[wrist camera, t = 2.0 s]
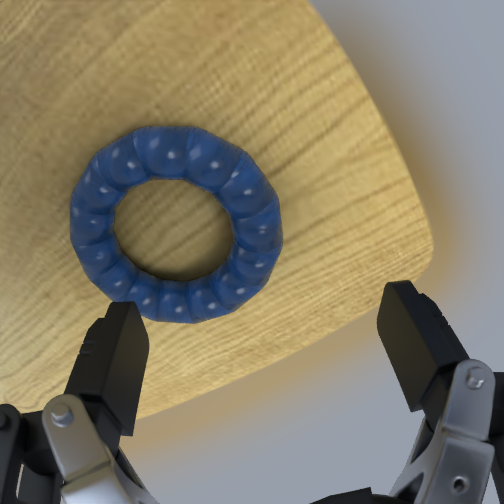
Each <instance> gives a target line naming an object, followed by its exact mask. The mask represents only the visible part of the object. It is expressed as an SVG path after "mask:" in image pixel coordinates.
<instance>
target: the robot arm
mask: <svg viewBox="0 0 504 504" xmlns="http://www.w3.org/2000/svg"><path fill="white" fill-rule="evenodd" d="M377 330H378V333H379V336H380V338H381V341H382V343H383V345H384V347H385V350H386V352H387V354H388V357H389V359H390V362H391V364H392V366H393V368H394V371H395V373H396V376H397V378H398V381H399V383H400V386H401V388H402V391H403V393H404V396H405V398H406V401H407V403H408V406H409V409H410V411H411V412H415V411H418V410H422V409H423V411H424V413H425V417H424V418H423V420H422V423H421V426H420V429H419V432H418V435H417V437H416V440H415V443H414V445H413V448H412V451H411V453H410V456H409V458H408V461H407V463H406V465H405V467H404V469H403V471H402V473H401V474H400V476H399V477H398V479H397V480H396V482H395V484H394V486H393V487H392V490H391V491H390V493H389V496H387V495H379V494H372V492H371V487H368V488H364V489H360V490H355V491H351V492H346V493H341V494H336V495H330V496H328V497H326V498H323V499H321V500H318V501H316V502H313V503H310V504H482V501H483V497H484V494H485V490H486V487H487V483H488V479H489V475H490V471H491V473H492V476H493V480H494V483H495V487H496V490H497V494H498V498H499V501H500V504H504V372H492V370H491V369H490V368H489V367H488V366H487V365H486V364H485V363H483V362H481V361H479V360H475V359H470V358H469V356H468V354H467V353H466V351H465V349H464V348H463V346H462V344H461V343H460V341H459V339H458V338H457V336H456V335H455V333H454V331H453V330H452V328H451V326H450V325H448V322H447V320H446V319H445V317H444V316H442V312H441V311H440V310H439V308H438V306H437V305H436V303H435V302H434V301H432V300H431V299H430V298H429V297H427V296H426V295H425V294H423V293H422V294H419V293H418V292H417V290H416V288H415V287H414V286H413V284H412V283H411V281H409V280H403V281H394V282H388V283H386V285H385V288H384V292H383V296H382V300H381V304H380V308H379V312H378V316H377ZM83 342H84V344H82V346H81V349H80V351H79V353H80V354H78V356H77V359H76V361H75V364H74V367H73V369H72V372H71V375H70V377H69V380H68V383H67V386H66V389H65V391H64V394H61V395H58V396H56V397H54V398H52V399H51V400H50V401H49V402H48V403H47V404H46V406H45V407H44V409H43V410H42V411H36V412H30V413H23V414H21V413H20V412H19V411H18V410H17V409H16V408H15V407H14V406H13V405H11V404H1V405H0V504H60V501H61V496H62V498H63V500H64V502H65V504H159V503H158V502H157V501H156V500H155V498H154V497H153V496H152V495H151V494H150V493H149V491H148V490H147V489H146V487H145V486H144V484H143V483H142V481H141V480H140V478H139V477H138V475H137V474H136V472H135V471H134V469H133V467H132V466H131V464H130V463H129V461H128V459H127V458H126V456H125V454H124V453H123V451H122V449H121V448H120V446H119V441H120V436H121V435H122V436H133V430H134V424H135V419H136V413H137V408H138V403H139V397H140V392H141V387H142V382H143V377H144V373H145V368H146V363H147V358H148V354H149V338H148V334H147V331H146V329H145V326H144V323H143V321H142V318H141V315H140V312H139V310H138V307H137V304H136V303H135V302H134V301H122V302H112V303H111V304H110V305H109V308H108V310H107V313H106V315H105V318H98V319H97V320H96V321H95V322H94V323H93V325H92V326H91V327H90V328H89V329H88V331H87V334H86V336H85V339H84V341H83ZM21 464H23V465H24V467H23V472H22V477H21V482H20V487H19V493H18V499H17V496H16V489H17V483H18V478H19V473H20V468H21ZM63 480H64V484H63Z"/></svg>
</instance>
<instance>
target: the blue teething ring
mask: <svg viewBox="0 0 504 504" xmlns="http://www.w3.org/2000/svg"><path fill="white" fill-rule="evenodd" d="M152 179H158V180H184V181H186V182H188V183H190V184H192V185H194V186H196V187H199V188H201V189H203V190H205V191H207V192H209V193H211V194H212V195H213V196H214V198H215V199H216V200H217V201H218V203H219V204H220V205H221V206H222V208H223V209H224V210H225V211H226V212H227V214H228V215H229V217H230V222H231V227H232V232H233V237H234V240H233V243H232V246H231V249H230V252H229V255H228V258H227V259H226V260H225V261H224V262H223V263H222V264H221V265H220V266H219V267H218V268H217V269H216V270H215V271H214V272H213V273H212V274H209V275H206V276H203V277H200V278H198V279H195V280H192V281H171V280H162V279H160V278H157V277H155V276H153V275H151V274H148V273H146V272H144V271H142V270H139V269H138V268H137V267H136V266H135V265H134V264H133V263H132V262H131V261H130V260H129V259H128V258H127V257H126V256H125V254H124V253H123V252H122V251H121V248H120V246H119V243H118V241H117V238H116V235H115V233H114V221H115V211H116V208H117V207H118V205H119V204H120V202H121V201H122V199H123V198H124V197H125V195H126V194H127V192H128V191H129V190H131V189H133V188H135V187H137V186H139V185H141V184H144V183H146V182H148V181H150V180H152ZM70 240H71V243H72V245H73V248H74V250H75V252H76V254H77V257H78V259H79V261H80V263H81V265H82V267H83V269H84V272H85V274H86V275H87V277H88V278H89V280H90V281H91V282H92V283H93V284H95V285H96V286H97V287H98V288H99V289H100V290H101V291H102V292H103V293H104V294H105V295H106V296H107V297H109V298H110V299H111V300H112V301H113V302H122V301H134V302H135V303H136V304H137V307H138V310H139V312H140V315H141V316H143V317H145V318H148V319H150V320H153V321H157V322H171V323H188V324H196V323H200V322H203V321H207V320H210V319H213V318H217V317H220V316H223V315H226V314H230V313H232V312H234V311H236V310H237V309H239V308H240V307H241V306H242V305H243V304H245V303H246V302H247V301H248V300H249V299H251V298H252V297H253V296H254V295H255V294H256V293H258V292H259V291H260V290H261V289H262V288H263V287H264V286H265V285H266V284H267V282H268V280H269V278H270V276H271V273H272V271H273V268H274V266H275V264H276V261H277V259H278V256H279V254H280V252H281V249H282V246H283V232H282V223H281V215H280V206H279V199H278V196H277V194H276V192H275V190H274V188H273V187H272V186H271V184H270V183H269V181H268V180H267V179H266V177H265V176H264V174H263V173H262V172H261V170H260V169H259V167H258V166H257V165H256V163H255V162H254V160H253V159H252V158H251V156H250V155H249V154H248V153H247V152H246V151H244V150H243V149H241V148H239V147H237V146H235V145H233V144H231V143H229V142H227V141H226V140H224V139H222V138H220V137H218V136H216V135H214V134H212V133H210V132H208V131H206V130H204V129H202V128H199V127H194V126H149V127H142V128H139V129H136V130H134V131H133V132H131V133H129V134H127V135H125V136H123V137H122V138H120V139H118V140H116V141H114V142H113V143H111V144H109V145H107V146H106V147H104V148H102V149H101V150H99V151H98V152H97V153H96V154H95V155H94V156H93V158H92V159H91V161H90V162H89V164H88V166H87V167H86V169H85V171H84V172H83V174H82V176H81V177H80V179H79V181H78V183H77V184H76V186H75V188H74V190H73V192H72V195H71V203H70Z"/></svg>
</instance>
